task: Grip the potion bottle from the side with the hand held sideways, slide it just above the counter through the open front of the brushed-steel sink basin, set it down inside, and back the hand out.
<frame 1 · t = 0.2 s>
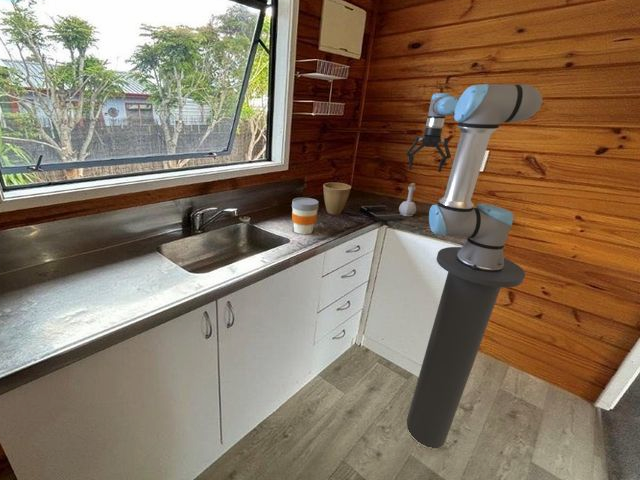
hand: (424, 170, 156), 27 cm above the worktop, tool pointing down, fingers open, 13 cm apart
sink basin: (380, 215, 171), on the worktop
reusable coffee cup: (303, 231, 148), on the worktop
potion bottle: (406, 214, 173), on the worktop
plant pot: (333, 213, 173), on the worktop
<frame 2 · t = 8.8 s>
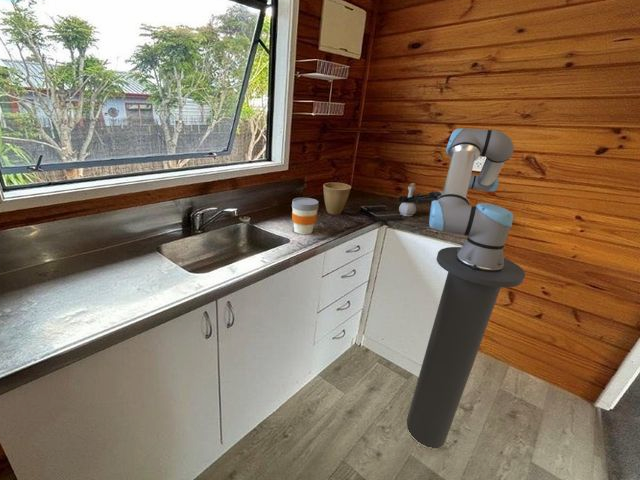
hand: (400, 199, 169), 9 cm above the worktop, tool horizontal, fingers closed on potion bottle, 2 cm apart
potion bottle: (406, 214, 173), on the worktop, touching gripper
everything else where it was.
when the fingers open (9 cm above the worktop, at t = 14.4 s): potion bottle stays where it is, resting in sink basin.
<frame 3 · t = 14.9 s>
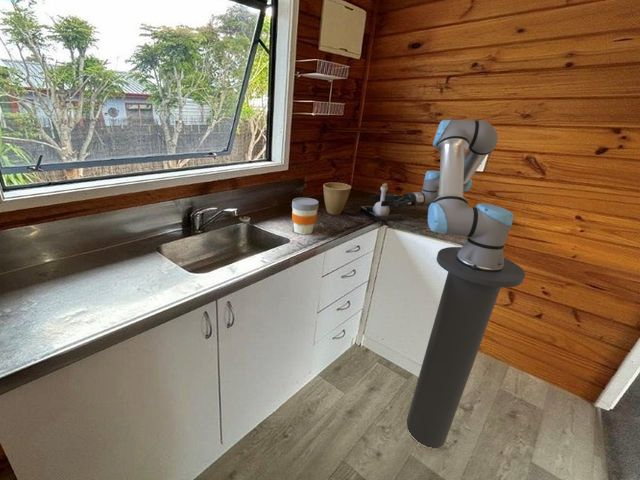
hand: (376, 200, 167), 9 cm above the worktop, tool horizontal, fingers open, 10 cm apart
potion bottle: (380, 215, 171), resting in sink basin
everything else where it was.
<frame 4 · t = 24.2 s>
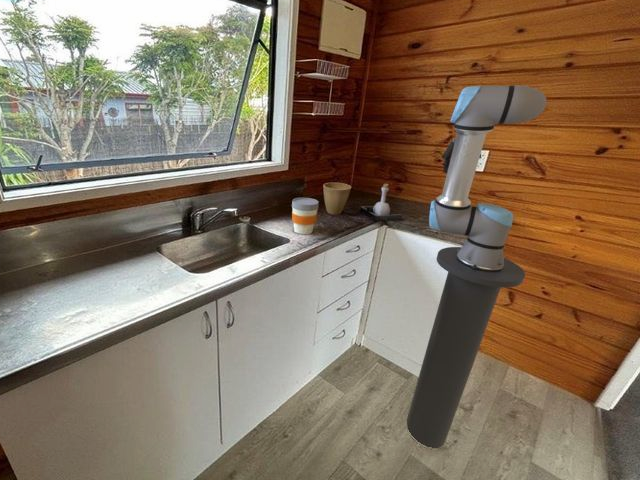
hand: (457, 172, 152), 27 cm above the worktop, tool pointing down, fingers open, 13 cm apart
nothing on the worktop moved.
at the end: potion bottle inside the target area on the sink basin (0.1 cm from its centre), point 0.0 cm above the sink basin's base; potion bottle tilted 0°; the gripper is holding nothing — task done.
